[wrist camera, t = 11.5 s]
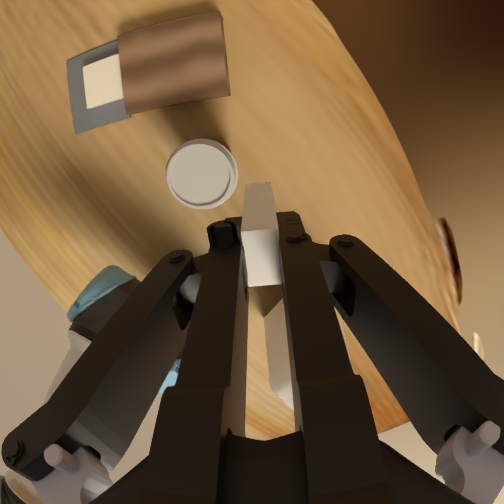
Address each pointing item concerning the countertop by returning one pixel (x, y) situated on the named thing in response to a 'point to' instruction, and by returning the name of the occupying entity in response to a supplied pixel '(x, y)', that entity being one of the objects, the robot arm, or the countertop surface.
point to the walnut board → (174, 62)
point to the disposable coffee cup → (202, 173)
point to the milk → (282, 352)
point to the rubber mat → (82, 115)
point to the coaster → (103, 81)
